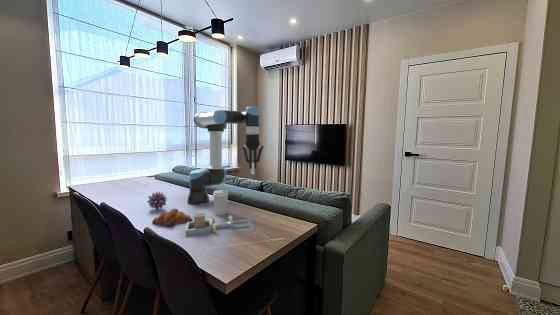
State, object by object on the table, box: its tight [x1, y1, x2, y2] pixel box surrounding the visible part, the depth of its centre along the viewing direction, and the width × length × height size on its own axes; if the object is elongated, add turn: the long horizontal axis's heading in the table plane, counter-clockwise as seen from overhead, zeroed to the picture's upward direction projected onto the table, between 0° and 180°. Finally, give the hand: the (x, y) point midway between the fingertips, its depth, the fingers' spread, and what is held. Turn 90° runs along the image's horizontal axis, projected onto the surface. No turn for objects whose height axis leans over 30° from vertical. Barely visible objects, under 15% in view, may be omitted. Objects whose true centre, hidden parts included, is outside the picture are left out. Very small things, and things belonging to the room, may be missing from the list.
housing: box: [179, 216, 255, 239], centre depth 126 cm, size 16×36×4 cm, turn 107°
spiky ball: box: [146, 191, 168, 210], centre depth 156 cm, size 12×12×12 cm
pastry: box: [151, 208, 194, 228], centre depth 134 cm, size 17×15×8 cm
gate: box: [208, 214, 234, 231], centre depth 126 cm, size 8×12×5 cm
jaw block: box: [193, 211, 206, 229], centre depth 123 cm, size 6×5×8 cm
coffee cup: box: [212, 189, 229, 216], centre depth 147 cm, size 10×10×15 cm
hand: (252, 174), depth 142 cm, fingers closed
